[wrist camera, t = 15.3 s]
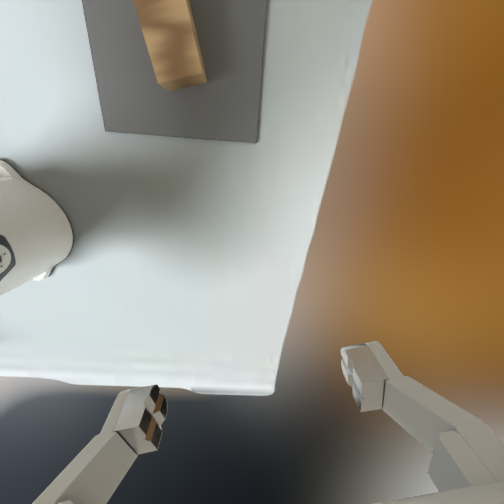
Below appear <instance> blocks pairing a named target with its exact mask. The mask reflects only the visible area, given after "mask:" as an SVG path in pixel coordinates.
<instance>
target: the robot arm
mask: <svg viewBox="0 0 504 504" xmlns="http://www.w3.org/2000/svg"><path fill="white" fill-rule="evenodd" d="M72 244H73V234H72V229H71V226H70V223H69V221H68V219H67V217H66V215H65V214H64V212H63V211H62V209H61V208H60V207H59V206H58V204H57V203H56V202H55V201H54V200H53V199H52V198H51V197H49V196H48V195H47V194H46V193H44V192H43V191H42V190H40V189H39V188H37V187H35V186H33V185H32V184H30V183H28V182H27V181H25V180H24V179H23V178H22V177H21V176H20V175H19V174H18V173H17V172H16V171H15V170H14V169H13V168H12V167H11V166H10V165H9V164H7V163H6V162H4V161H2V160H0V295H2V294H4V293H6V292H8V291H10V290H12V289H14V288H16V287H18V286H20V285H22V284H24V283H26V282H28V281H30V280H36V281H41V280H43V279H45V278H47V277H48V276H49V274H50V272H51V270H52V268H53V267H54V266H55V265H56V264H58V263H60V262H61V261H63V260H64V259H65V258H66V257H67V256H68V254H69V252H70V250H71V248H72ZM341 355H342V357H343V359H342V360H341V364H342V370H343V373H344V376H345V379H346V381H347V383H348V384H349V385H350V386H351V387H352V388H353V396H354V398H355V400H356V403H357V405H358V407H359V409H360V411H361V412H364V411H371V410H376V409H383V411H385V412H386V413H387V414H388V415H389V416H390V417H391V418H392V419H394V420H395V421H396V422H397V423H398V424H399V425H401V426H402V427H403V428H404V429H405V430H406V431H407V432H409V433H410V434H411V435H412V436H413V437H414V438H415V439H417V440H418V441H419V442H420V443H421V444H422V445H423V446H425V447H426V448H427V449H428V450H429V451H430V452H432V453H433V455H432V459H431V462H430V465H429V469H428V474H429V475H430V477H431V479H432V481H433V482H434V484H435V486H436V488H437V489H438V491H439V492H437V493H431V494H426V495H420V496H414V497H408V498H403V499H397V500H392V501H386V502H380V503H374V504H504V444H503V442H502V441H501V440H500V439H499V438H498V437H497V436H496V434H495V433H494V432H493V431H492V430H491V429H490V428H489V426H488V425H487V424H486V423H484V422H483V421H481V420H479V419H478V418H476V417H475V416H473V415H471V414H470V413H468V412H466V411H465V410H463V409H461V408H460V407H458V406H456V405H455V404H453V403H451V402H450V401H448V400H446V399H445V398H443V397H442V396H440V395H438V394H437V393H435V392H433V391H432V390H430V389H428V388H427V387H425V386H423V385H421V384H420V383H418V382H417V381H415V380H413V379H412V378H410V377H409V376H403V375H402V373H401V372H400V371H399V369H398V368H397V366H396V365H395V364H394V362H393V361H392V360H391V358H390V357H389V356H388V354H387V353H386V351H385V350H384V348H383V347H382V346H381V344H380V343H379V342H377V341H375V342H370V343H365V344H364V343H363V344H358V345H353V346H349V347H344V348H342V349H341ZM159 391H160V388H159V387H158V385H152V386H146V387H140V388H135V389H129V390H124V391H121V392H120V393H119V394H118V396H117V398H116V400H115V402H114V404H113V407H112V409H111V411H110V413H109V415H108V417H107V420H106V422H105V424H104V426H103V428H102V430H101V433H100V435H96V436H95V437H94V438H93V439H92V440H91V441H90V442H89V443H88V444H87V446H86V447H85V448H84V449H83V450H82V451H81V452H80V453H79V454H78V455H77V456H76V457H75V458H74V459H73V460H72V462H71V463H70V464H69V465H68V466H67V467H66V468H65V469H64V470H63V471H62V472H61V473H60V474H59V476H58V477H57V478H56V479H55V480H54V481H53V482H52V483H51V484H50V485H49V486H48V487H47V488H46V489H45V490H44V492H43V493H42V494H41V495H40V496H39V497H38V498H37V499H36V500H35V501H34V502H33V503H32V504H106V503H107V502H108V500H109V499H110V497H111V496H112V494H113V493H114V491H115V490H116V488H117V486H118V485H119V483H120V482H121V480H122V479H123V477H124V476H125V474H126V473H127V471H128V470H129V468H130V467H131V465H132V464H133V462H134V461H135V459H136V457H137V454H142V453H147V452H151V451H155V450H158V446H159V442H160V438H161V435H162V429H161V426H160V425H161V424H162V423H163V422H164V420H165V419H166V414H167V401H166V398H165V396H164V395H162V394H160V393H159Z"/></svg>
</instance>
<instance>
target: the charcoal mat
mask: <svg viewBox="0 0 504 504" xmlns="http://www.w3.org/2000/svg"><path fill="white" fill-rule="evenodd" d="M189 2H190V7H191V11H192V15H193V20H194V24H195V29H196V33H197V38H198V42H199V47H200V51H201V55H202V60H203V64H204V69H205V73H206V78H207V82H208V83H204V84H199V85H195V86H190V87H186V88H181V89H177V90H172V91H167V90H166V89H165V88H163V87H162V86H161V85H160V84H158V82H157V78H156V75H155V72H154V68H153V65H152V62H151V58H150V55H149V52H148V49H147V45H146V42H145V39H144V35H143V32H142V29H141V25H140V22H139V19H138V15H137V12H136V9H135V5H134V2H133V0H82V3H83V9H84V15H85V20H86V26H87V31H88V37H89V43H90V48H91V54H92V60H93V65H94V71H95V77H96V82H97V88H98V93H99V99H100V105H101V110H102V116H103V122H104V127H105V131H109V132H122V133H134V134H147V135H160V136H173V137H185V138H198V139H211V140H224V141H237V142H249V143H257V130H258V116H259V101H260V87H261V73H262V59H263V45H264V31H265V17H266V2H267V0H189Z"/></svg>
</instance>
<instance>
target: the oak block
mask: <svg viewBox="0 0 504 504" xmlns="http://www.w3.org/2000/svg"><path fill="white" fill-rule="evenodd" d="M133 2H134V5H135V9H136V12H137V15H138V19H139V22H140V25H141V29H142V32H143V35H144V39H145V42H146V45H147V49H148V52H149V55H150V58H151V62H152V65H153V68H154V72H155V75H156V78H157V82H158V84H160V85H161V86H162V87H163V88H165V89H166V90H167V91H172V90H177V89H181V88H186V87H190V86H195V85H199V84H204V83H208V82H207V78H206V73H205V69H204V64H203V60H202V55H201V51H200V47H199V42H198V38H197V33H196V29H195V24H194V20H193V15H192V11H191V7H190V2H189V0H133Z"/></svg>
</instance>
